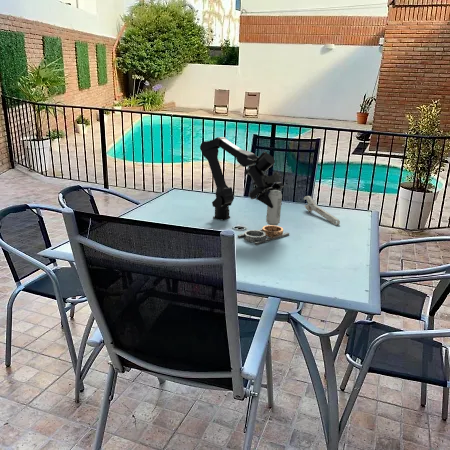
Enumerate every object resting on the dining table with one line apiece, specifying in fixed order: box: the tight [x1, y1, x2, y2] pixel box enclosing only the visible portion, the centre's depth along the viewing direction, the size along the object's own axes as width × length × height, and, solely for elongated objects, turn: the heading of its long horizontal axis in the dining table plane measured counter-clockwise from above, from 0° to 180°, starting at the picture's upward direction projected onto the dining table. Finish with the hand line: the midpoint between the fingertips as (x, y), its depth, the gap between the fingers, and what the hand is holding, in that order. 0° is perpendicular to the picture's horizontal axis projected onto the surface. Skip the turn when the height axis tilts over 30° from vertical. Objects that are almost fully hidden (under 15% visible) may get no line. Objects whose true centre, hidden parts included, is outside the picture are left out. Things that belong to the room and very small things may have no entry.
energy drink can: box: [265, 190, 283, 226], centre depth 189 cm, size 6×6×15 cm
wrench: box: [303, 195, 341, 226], centre depth 221 cm, size 8×2×30 cm
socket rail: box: [237, 224, 290, 246], centre depth 189 cm, size 21×12×2 cm, turn 132°
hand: (276, 206), depth 188 cm, fingers closed on energy drink can, 6 cm apart
